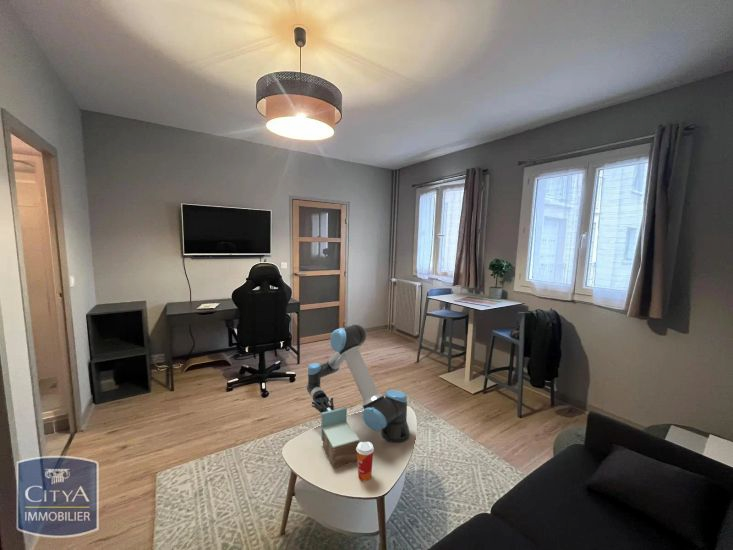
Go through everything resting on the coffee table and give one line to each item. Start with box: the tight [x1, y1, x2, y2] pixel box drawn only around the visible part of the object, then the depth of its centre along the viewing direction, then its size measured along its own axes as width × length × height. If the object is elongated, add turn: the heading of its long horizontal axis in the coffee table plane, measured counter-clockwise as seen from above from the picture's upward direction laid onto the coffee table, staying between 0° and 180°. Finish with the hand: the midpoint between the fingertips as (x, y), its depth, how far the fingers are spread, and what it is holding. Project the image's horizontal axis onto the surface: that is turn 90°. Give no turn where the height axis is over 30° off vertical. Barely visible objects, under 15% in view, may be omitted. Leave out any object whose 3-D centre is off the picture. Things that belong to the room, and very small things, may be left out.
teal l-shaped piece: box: [320, 406, 360, 448], centre depth 147 cm, size 18×13×14 cm
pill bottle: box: [356, 441, 375, 482], centre depth 132 cm, size 8×8×14 cm
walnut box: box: [322, 431, 361, 469], centre depth 146 cm, size 16×13×9 cm
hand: (332, 416), depth 157 cm, fingers closed
